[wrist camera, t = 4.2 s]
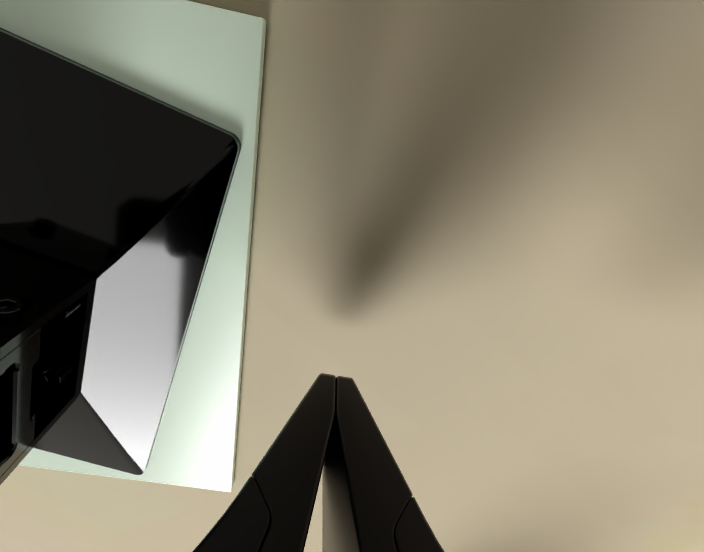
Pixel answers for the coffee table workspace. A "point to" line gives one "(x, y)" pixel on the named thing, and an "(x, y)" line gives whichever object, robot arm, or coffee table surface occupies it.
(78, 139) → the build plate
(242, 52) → the base plate
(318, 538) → the coffee table surface
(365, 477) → the robot arm
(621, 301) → the coffee table surface
